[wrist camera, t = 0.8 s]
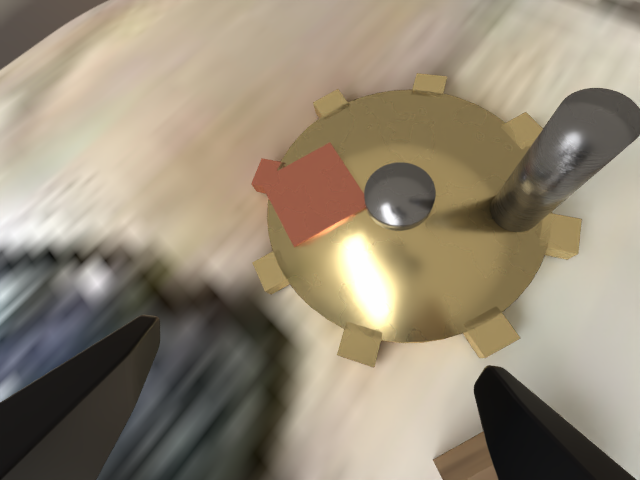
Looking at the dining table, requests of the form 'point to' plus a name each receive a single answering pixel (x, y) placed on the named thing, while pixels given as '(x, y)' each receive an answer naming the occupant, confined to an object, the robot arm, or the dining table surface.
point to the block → (467, 461)
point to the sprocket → (429, 210)
